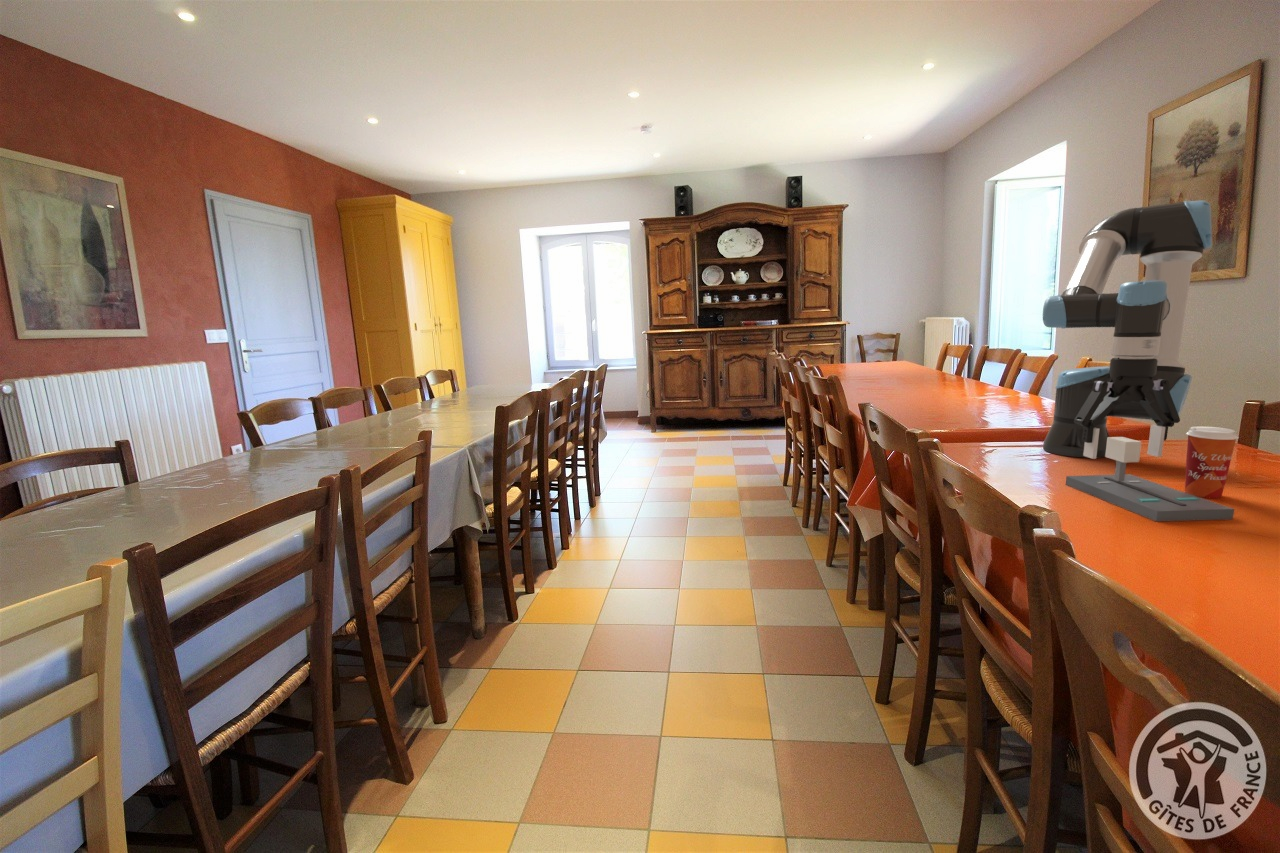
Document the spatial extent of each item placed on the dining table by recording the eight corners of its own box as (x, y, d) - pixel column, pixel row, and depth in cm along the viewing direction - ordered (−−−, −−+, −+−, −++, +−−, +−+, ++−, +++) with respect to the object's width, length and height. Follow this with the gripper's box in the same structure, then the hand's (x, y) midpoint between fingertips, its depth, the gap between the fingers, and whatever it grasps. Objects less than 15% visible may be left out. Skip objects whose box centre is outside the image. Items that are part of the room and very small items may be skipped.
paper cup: (1185, 497, 120) (1194, 431, 117) (1172, 487, 126) (1181, 425, 124) (1236, 502, 116) (1247, 434, 113) (1220, 491, 123) (1231, 426, 120)
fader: (1102, 477, 127) (1107, 437, 125) (1117, 476, 127) (1122, 436, 125) (1120, 483, 122) (1125, 442, 120) (1136, 483, 122) (1141, 441, 120)
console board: (1065, 484, 131) (1066, 475, 131) (1128, 482, 131) (1129, 473, 130) (1156, 521, 108) (1157, 510, 107) (1232, 519, 107) (1234, 507, 107)
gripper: (1086, 360, 116) (1075, 462, 120) (1212, 356, 116) (1197, 459, 119) (1060, 357, 124) (1050, 453, 127) (1179, 354, 123) (1165, 451, 127)
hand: (1121, 456), depth 123 cm, fingers open, 13 cm apart
